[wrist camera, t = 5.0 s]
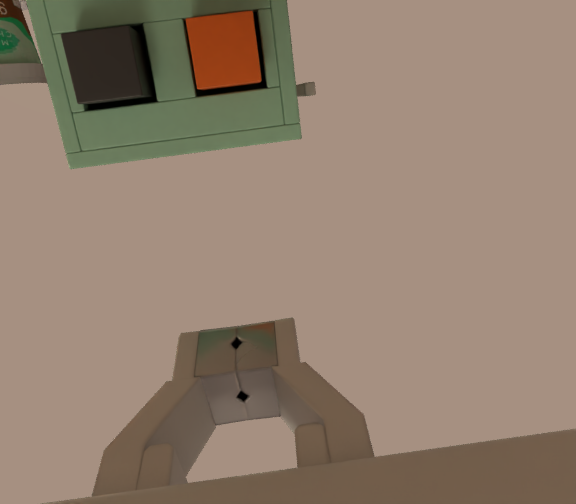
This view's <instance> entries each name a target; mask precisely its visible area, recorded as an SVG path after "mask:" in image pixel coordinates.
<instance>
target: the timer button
mask: <svg viewBox="0 0 576 504" xmlns="http://www.w3.org/2000/svg"><path fill="white" fill-rule="evenodd" d="M61 39H62V43H63V47H64V51H65V55H66V59H67V63H68V67H69V71H70V76H71V80H72V84H73V88H74V92H75V96H76V100H77V103H78V104H98V103H106V102H114V101H122V100H130V99H137V98H145V97H153V96H154V92H153V87H152V82H151V77H150V72H149V67H148V62H147V57H146V52H145V47H144V41H143V36H142V34H141V33H139V32H138V31H136V30H134V29H133V28H131V27H130V26H118V27H110V28H102V29H93V30H85V31H77V32H68V33H62V34H61Z"/></svg>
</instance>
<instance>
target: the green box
mask: <svg viewBox="0 0 576 504" xmlns="http://www.w3.org/2000/svg"><path fill="white" fill-rule="evenodd" d="M26 2H27V6H28V10H29V13H30V17H31V21H32V25H33V29H34V33H35V37H36V40H37V44H38V48H39V52H40V56H41V60H42V63H43V68H44V71H45V75H46V79H47V83H48V87H49V90H50V95H51V98H52V102H53V106H54V109H55V114H56V118H57V122H58V125H59V129H60V133H61V137H62V141H63V145H64V148H65V152H66V153H67V154H66V156H67V160H68V164H69V168H70V169H75V168H83V167H90V166H98V165H106V164H113V163H121V162H128V161H136V160H144V159H151V158H159V157H166V156H174V155H182V154H189V153H197V152H205V151H211V150H219V149H227V148H234V147H243V146H250V145H257V144H265V143H273V142H281V141H288V140H296V139H301V138H302V136H301V127H300V123H299V122H300V119H299V109H298V100H297V96H311V95H315V94H316V91H315V83H314V82H308V83H303V84H299V85H296V81H295V72H294V63H293V54H292V44H291V35H290V26H289V16H288V8H287V0H26ZM243 11H253V17H254V25H255V32H256V40H257V48H258V56H259V63H260V71H261V79H262V81H261V82H260V83H256V84H248V85H241V86H233V87H225V88H217V89H209V90H200V89H197V84H196V78H195V72H194V66H193V60H192V54H191V49H190V43H189V37H188V31H187V25H186V18H193V17H201V16H209V15H218V14H226V13H235V12H243ZM118 26H130V27H131V28H133V29H134V30H136V31H138V32H139V33H141V34H142V36H143V41H144V47H145V52H146V57H147V62H148V67H149V72H150V77H151V82H152V87H153V92H154V96H153V97H145V98H137V99H130V100H122V101H114V102H106V103H98V104H78V103H77V100H76V96H75V92H74V88H73V84H72V80H71V76H70V71H69V67H68V63H67V59H66V55H65V51H64V47H63V43H62V39H61V34H62V33H68V32H77V31H85V30H93V29H102V28H110V27H118Z"/></svg>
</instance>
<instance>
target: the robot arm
mask: <svg viewBox="0 0 576 504" xmlns="http://www.w3.org/2000/svg"><path fill="white" fill-rule="evenodd" d="M280 416H281V418H282V419H283V420H284V422H285V423H286V424H287V425H288V427H289V428H290V429H291V430H292V432H293V433H294V434H295V443H296V455H297V467H298V468H292V469H285V470H278V471H270V472H263V473H256V474H249V475H242V476H235V477H228V478H221V479H214V480H206V481H199V482H192V483H188V482H187V479H186V476H187V474H188V472H189V471H190V469H191V467H192V466H193V464H194V462H195V461H196V459H197V458H198V456H199V454H200V452H201V451H202V449H203V448H204V446H205V444H206V443H207V441H208V440H209V438H210V436H211V435H212V433H213V431H214V430H215V428H216V425H221V424H227V423H233V422H239V421H245V420H253V419H261V418H270V417H280ZM42 504H576V429H570V430H563V431H556V432H549V433H542V434H535V435H527V436H520V437H514V438H506V439H499V440H492V441H485V442H478V443H470V444H463V445H456V446H449V447H442V448H435V449H428V450H420V451H413V452H407V453H399V454H392V455H385V456H378V457H374V453H373V449H372V445H371V441H370V437H369V433H368V429H367V425H366V421H365V417H364V414H363V413H362V412H360V411H359V410H358V409H357V408H356V407H355V406H354V405H353V404H352V403H350V402H349V401H348V400H347V399H346V398H345V397H344V396H342V394H340V393H339V392H338V391H337V390H336V389H335V388H334V387H333V386H332V385H330V384H329V383H328V382H327V381H326V380H325V379H324V378H323V377H322V376H321V375H319V374H318V373H317V372H316V371H315V370H314V369H313V368H312V367H311V366H309V365H308V364H307V363H306V362H302V363H300V357H299V350H298V343H297V335H296V328H295V321H294V318H286V319H280V320H275V321H269V322H262V323H255V324H249V325H242V326H234V327H226V328H217V329H208V330H201V331H195V332H186V333H181V334H180V336H179V338H178V345H177V351H176V358H175V365H174V371H173V377H172V381H167V382H165V384H164V385H163V386H162V387H161V388H160V389H159V390H158V391H157V392H156V394H155V395H154V396H153V397H152V398H151V399H150V400H149V401H148V402H147V403H146V405H145V406H144V407H143V408H142V409H141V410H140V411H139V412H138V413H137V415H136V416H135V417H134V418H133V419H132V420H131V421H130V422H129V423H128V424H127V426H126V427H125V428H124V429H123V430H122V431H121V432H120V433H119V434H118V436H116V438H115V439H114V440H113V441H112V442H111V443H110V444H109V445H108V446H107V448H106V449H105V450H104V452H103V456H102V459H101V463H100V467H99V471H98V474H97V478H96V482H95V486H94V489H93V493H92V497H85V498H78V499H71V500H64V501H57V502H50V503H42Z"/></svg>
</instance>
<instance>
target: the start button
mask: <svg viewBox="0 0 576 504" xmlns="http://www.w3.org/2000/svg"><path fill="white" fill-rule="evenodd" d="M186 25H187V31H188V37H189V43H190V49H191V54H192V60H193V66H194V72H195V78H196V84H197V89H200V90H209V89H217V88H225V87H233V86H241V85H248V84H256V83H260V82H261V81H262V79H261V71H260V63H259V56H258V48H257V40H256V32H255V25H254V17H253V11H243V12H235V13H226V14H218V15H209V16H201V17H193V18H186Z"/></svg>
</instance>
